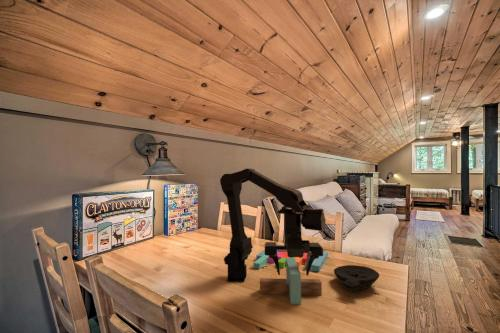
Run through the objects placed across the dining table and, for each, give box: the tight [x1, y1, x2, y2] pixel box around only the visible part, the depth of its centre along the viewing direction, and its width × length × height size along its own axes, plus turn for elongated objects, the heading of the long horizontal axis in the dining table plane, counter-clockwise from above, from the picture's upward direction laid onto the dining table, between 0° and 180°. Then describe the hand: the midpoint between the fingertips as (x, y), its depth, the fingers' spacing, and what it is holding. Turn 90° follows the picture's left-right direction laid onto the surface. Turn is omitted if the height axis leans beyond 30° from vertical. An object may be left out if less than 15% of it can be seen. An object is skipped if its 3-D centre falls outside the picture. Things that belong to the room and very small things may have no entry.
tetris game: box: [253, 243, 329, 273], centre depth 108 cm, size 28×3×28 cm
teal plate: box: [285, 258, 302, 305], centre depth 80 cm, size 14×3×9 cm, turn 177°
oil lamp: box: [333, 264, 380, 292], centre depth 84 cm, size 15×20×5 cm
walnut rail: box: [259, 277, 323, 296], centre depth 80 cm, size 20×2×4 cm, turn 87°
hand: (293, 274), depth 80 cm, fingers open, 9 cm apart
